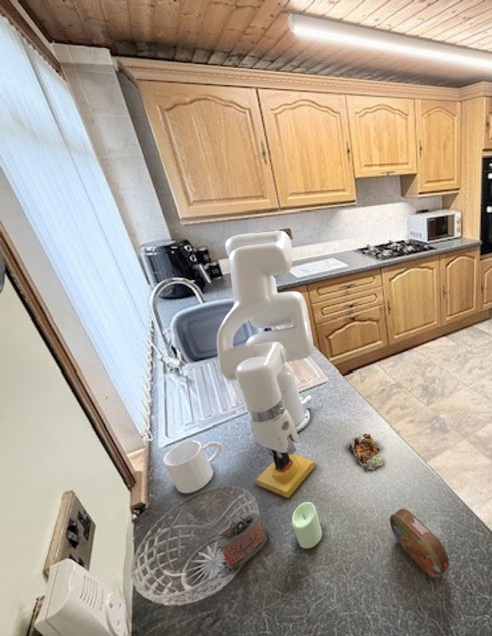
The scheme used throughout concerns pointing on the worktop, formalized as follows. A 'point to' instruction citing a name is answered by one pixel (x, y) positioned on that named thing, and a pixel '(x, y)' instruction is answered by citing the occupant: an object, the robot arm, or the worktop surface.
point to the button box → (286, 476)
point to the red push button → (285, 467)
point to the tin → (420, 543)
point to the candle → (306, 525)
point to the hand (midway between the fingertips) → (283, 464)
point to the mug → (190, 465)
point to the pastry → (366, 451)
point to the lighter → (241, 539)
